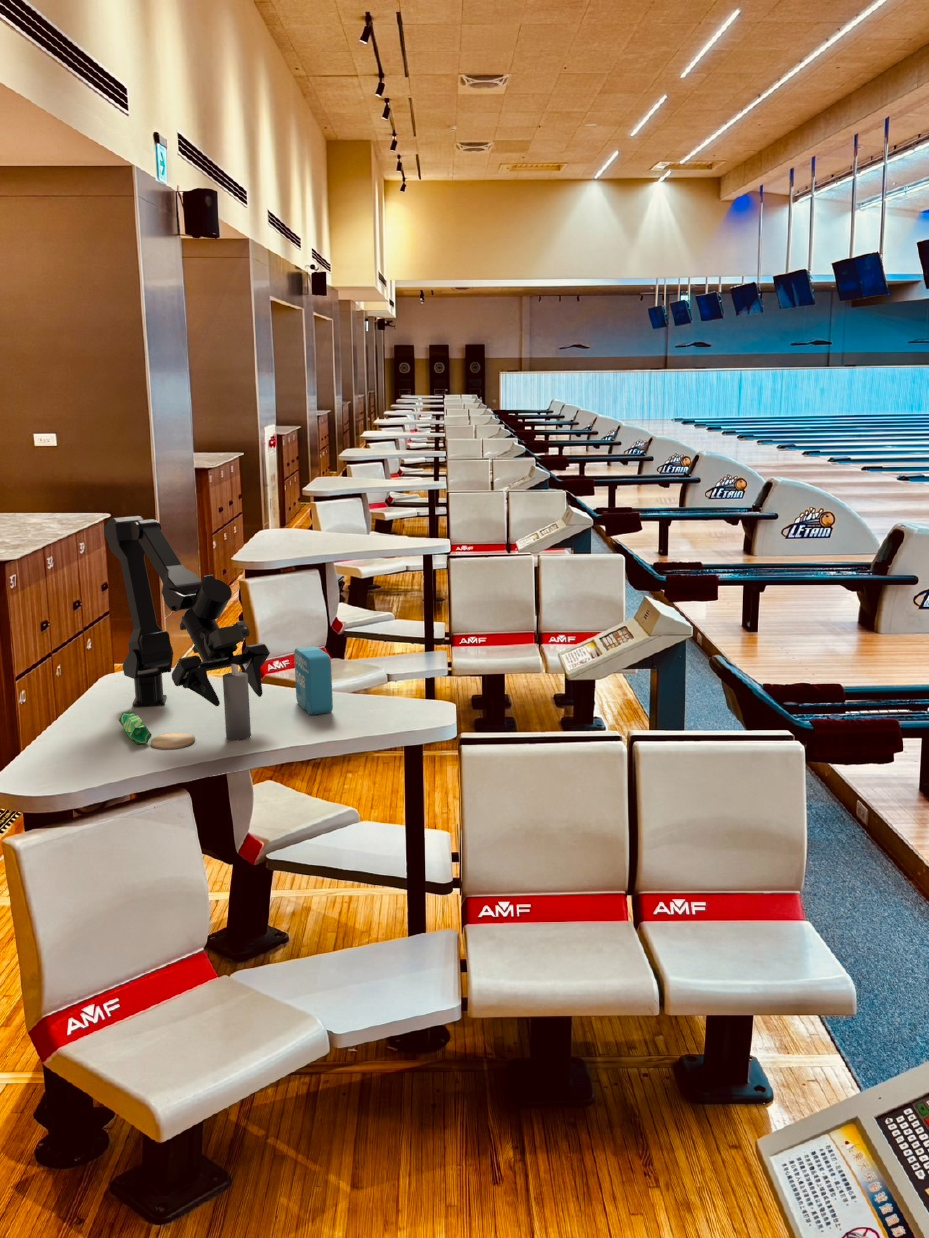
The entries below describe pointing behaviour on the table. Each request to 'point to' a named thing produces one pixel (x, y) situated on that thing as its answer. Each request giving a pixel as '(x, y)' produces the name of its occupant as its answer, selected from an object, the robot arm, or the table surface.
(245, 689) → the charcoal plug
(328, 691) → the data package
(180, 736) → the cork coaster
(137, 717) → the candy
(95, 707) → the table surface
